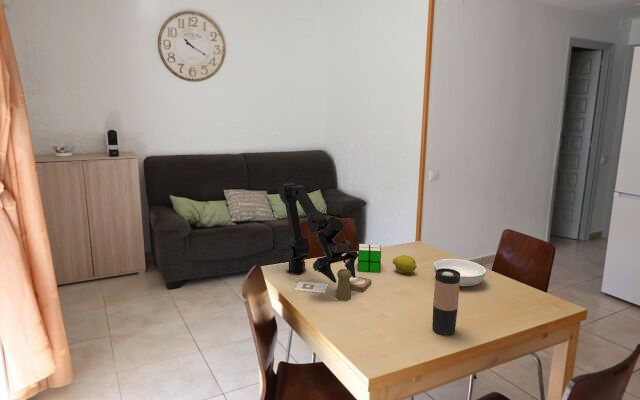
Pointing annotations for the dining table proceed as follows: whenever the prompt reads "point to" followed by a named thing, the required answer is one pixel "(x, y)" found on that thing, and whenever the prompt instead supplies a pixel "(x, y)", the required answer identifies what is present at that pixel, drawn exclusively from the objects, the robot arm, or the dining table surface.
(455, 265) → the serving bowl
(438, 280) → the travel mug
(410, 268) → the lemon
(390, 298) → the dining table surface
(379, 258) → the puzzle cube
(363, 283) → the plinth
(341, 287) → the cork
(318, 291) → the white flat piece
